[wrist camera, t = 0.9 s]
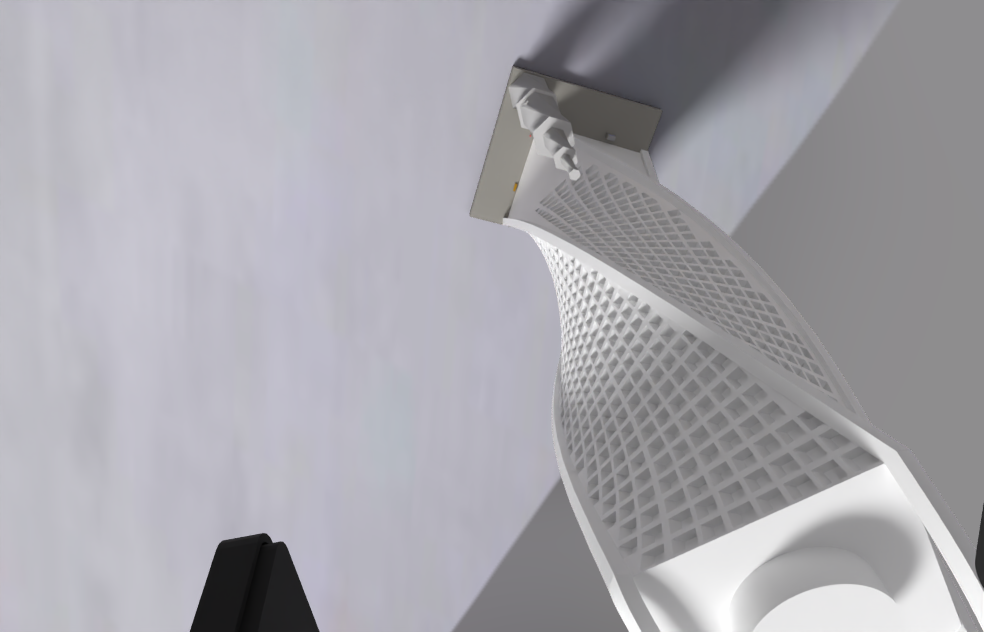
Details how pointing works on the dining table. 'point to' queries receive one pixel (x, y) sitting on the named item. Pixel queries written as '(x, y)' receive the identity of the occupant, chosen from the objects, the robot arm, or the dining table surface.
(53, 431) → the dining table surface
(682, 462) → the skyscraper
